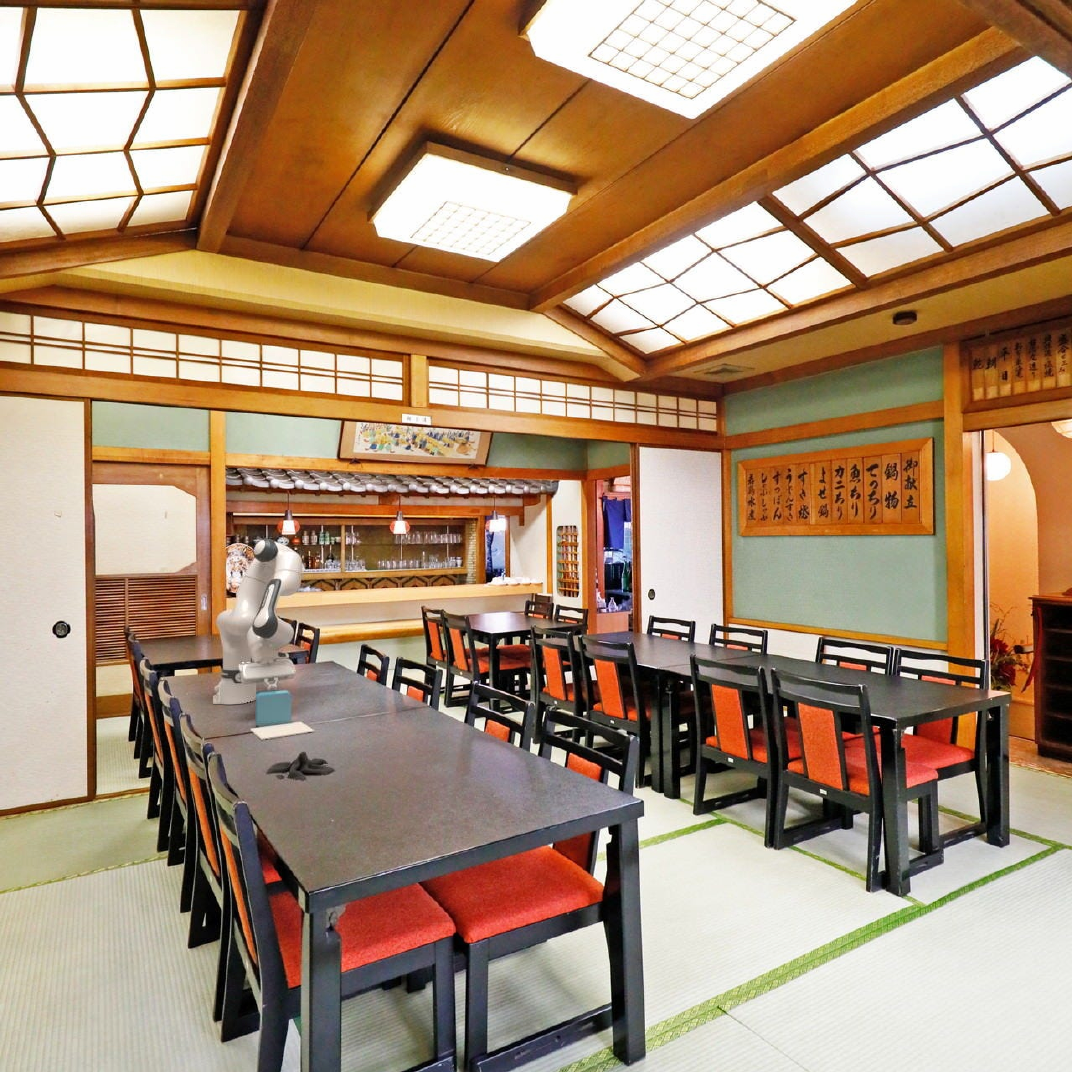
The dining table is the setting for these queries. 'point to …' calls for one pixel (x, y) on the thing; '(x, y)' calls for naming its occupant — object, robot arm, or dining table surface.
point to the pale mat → (281, 730)
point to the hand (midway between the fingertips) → (272, 689)
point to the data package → (273, 708)
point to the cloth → (300, 768)
